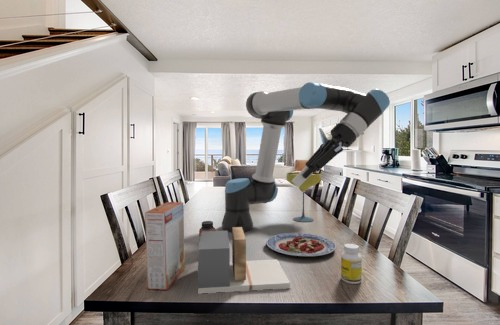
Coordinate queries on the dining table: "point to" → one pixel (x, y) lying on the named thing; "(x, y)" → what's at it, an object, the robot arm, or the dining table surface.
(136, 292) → the dining table surface
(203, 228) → the supplement bottle
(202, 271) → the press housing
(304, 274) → the dining table surface
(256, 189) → the robot arm
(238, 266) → the plate
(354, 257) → the supplement bottle
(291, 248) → the ceramic plate
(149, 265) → the cracker box
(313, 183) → the cocktail glass
